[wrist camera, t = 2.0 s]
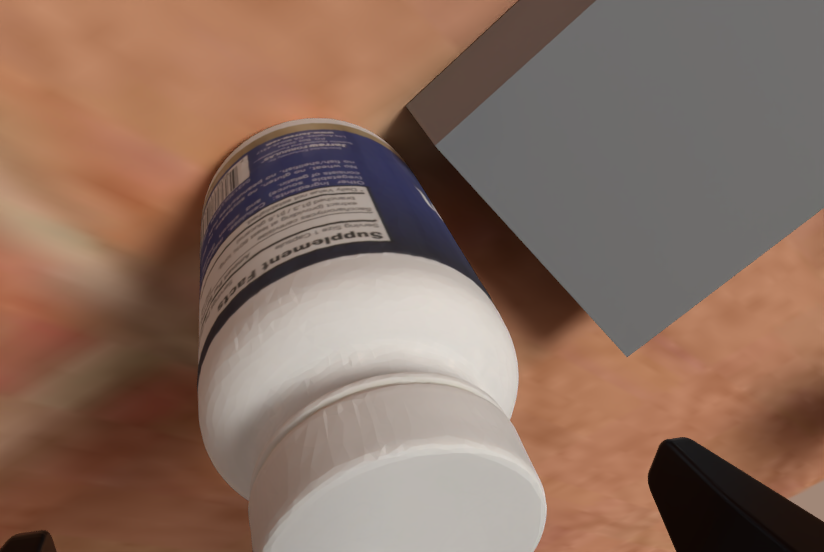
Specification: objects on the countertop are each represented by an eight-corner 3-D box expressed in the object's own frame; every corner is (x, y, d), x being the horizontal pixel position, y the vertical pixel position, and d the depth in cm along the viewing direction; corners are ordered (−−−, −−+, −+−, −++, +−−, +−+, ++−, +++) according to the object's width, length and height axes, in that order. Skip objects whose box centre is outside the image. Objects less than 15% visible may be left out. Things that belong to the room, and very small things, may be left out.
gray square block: (837, 107, 19) (912, 140, 17) (586, 306, 21) (627, 356, 19) (725, -191, 14) (813, -196, 12) (405, 106, 16) (435, 145, 14)
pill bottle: (440, 260, 18) (615, 581, 10) (257, 331, 18) (294, 715, 10) (383, 77, 15) (573, 339, 7) (160, 160, 15) (104, 525, 7)
